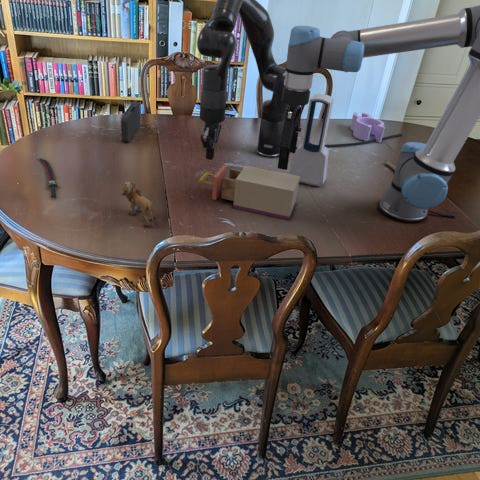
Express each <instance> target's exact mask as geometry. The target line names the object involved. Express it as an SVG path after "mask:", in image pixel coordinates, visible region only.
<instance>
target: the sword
mask: <svg viewBox="0 0 480 480" xmlns="http://www.w3.org/2000/svg"><path fill="white" fill-rule="evenodd" d="M40 161H41V162H42V163H43V165H44V166H45V169H46V173H47V176H48V185H47V188H50V198H56V197H57V189H56V188H57V187H59V185H58V184H57V183H56V180H55V176H54V172H53V169H52V167H51V164H50V163H49V161H48V160H46V159H43V158H40Z"/></svg>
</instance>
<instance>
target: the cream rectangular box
mask: <svg viewBox="0 0 480 480" xmlns="http://www.w3.org/2000/svg"><path fill="white" fill-rule="evenodd" d="M240 171H241V173H240V174H239V175H238V177H237V178H236V182H235V193H234V201H233V204H232V208H233V209H234V208H235V209H237V210H243V211H247V212H251V213H255V214H256V213H257V214H261V215H266V216H271V217H275V218H279V219H284V220H287V221H288V220H289V221H290V218H291V216H292V213H293V211H294V208H295V206H296V202H297V196H298V192H299V191H298V190H299V185H300V182H299V179H300V176H296V175H291V174H289V173H287V172H285V173H284V172H280V171H275V170H270V169H265V168H259V167H256V166H250V165H245V166H244V167H243V168H242V170H240Z"/></svg>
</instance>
